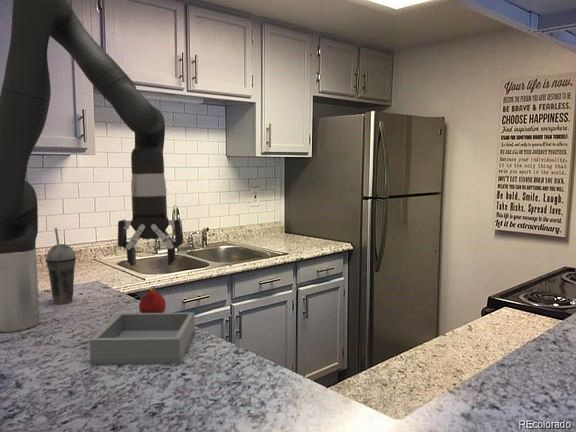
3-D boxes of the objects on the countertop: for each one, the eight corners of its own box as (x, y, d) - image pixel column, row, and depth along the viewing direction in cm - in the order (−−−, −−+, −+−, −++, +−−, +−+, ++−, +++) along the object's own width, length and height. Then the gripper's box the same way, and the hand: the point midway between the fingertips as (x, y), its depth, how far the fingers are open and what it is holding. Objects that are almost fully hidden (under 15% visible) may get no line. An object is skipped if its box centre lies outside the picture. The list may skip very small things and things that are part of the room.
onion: (158, 326, 105) (157, 291, 104) (135, 324, 106) (133, 290, 105) (170, 318, 111) (169, 285, 110) (147, 316, 112) (146, 284, 111)
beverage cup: (84, 300, 126) (81, 226, 124) (61, 307, 120) (57, 229, 118) (64, 297, 129) (61, 225, 127) (41, 304, 123) (37, 228, 121)
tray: (90, 364, 84) (89, 340, 84) (119, 333, 100) (119, 313, 100) (180, 363, 85) (179, 339, 84) (194, 332, 101) (194, 312, 100)
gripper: (111, 195, 102) (115, 268, 103) (177, 194, 102) (180, 267, 104) (122, 193, 109) (125, 262, 111) (183, 192, 110) (186, 261, 111)
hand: (151, 264), depth 107 cm, fingers open, 8 cm apart
